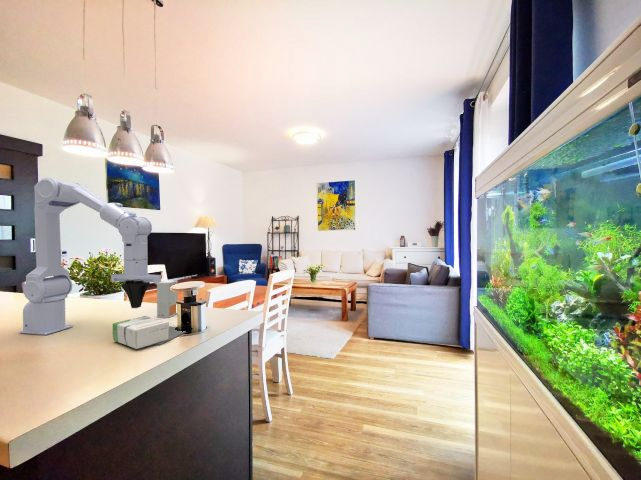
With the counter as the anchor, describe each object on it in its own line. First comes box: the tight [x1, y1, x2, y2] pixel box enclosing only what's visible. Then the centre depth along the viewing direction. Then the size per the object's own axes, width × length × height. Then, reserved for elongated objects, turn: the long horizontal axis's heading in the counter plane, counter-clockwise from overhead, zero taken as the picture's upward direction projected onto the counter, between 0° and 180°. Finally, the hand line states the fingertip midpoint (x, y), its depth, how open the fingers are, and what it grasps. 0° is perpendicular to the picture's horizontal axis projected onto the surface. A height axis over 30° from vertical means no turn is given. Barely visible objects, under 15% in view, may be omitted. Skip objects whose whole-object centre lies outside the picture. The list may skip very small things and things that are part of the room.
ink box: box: [112, 315, 170, 350], centre depth 79 cm, size 9×5×12 cm
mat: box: [151, 325, 187, 346], centre depth 85 cm, size 12×14×1 cm
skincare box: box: [156, 279, 179, 319], centre depth 105 cm, size 6×4×12 cm
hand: (136, 307), depth 86 cm, fingers closed
